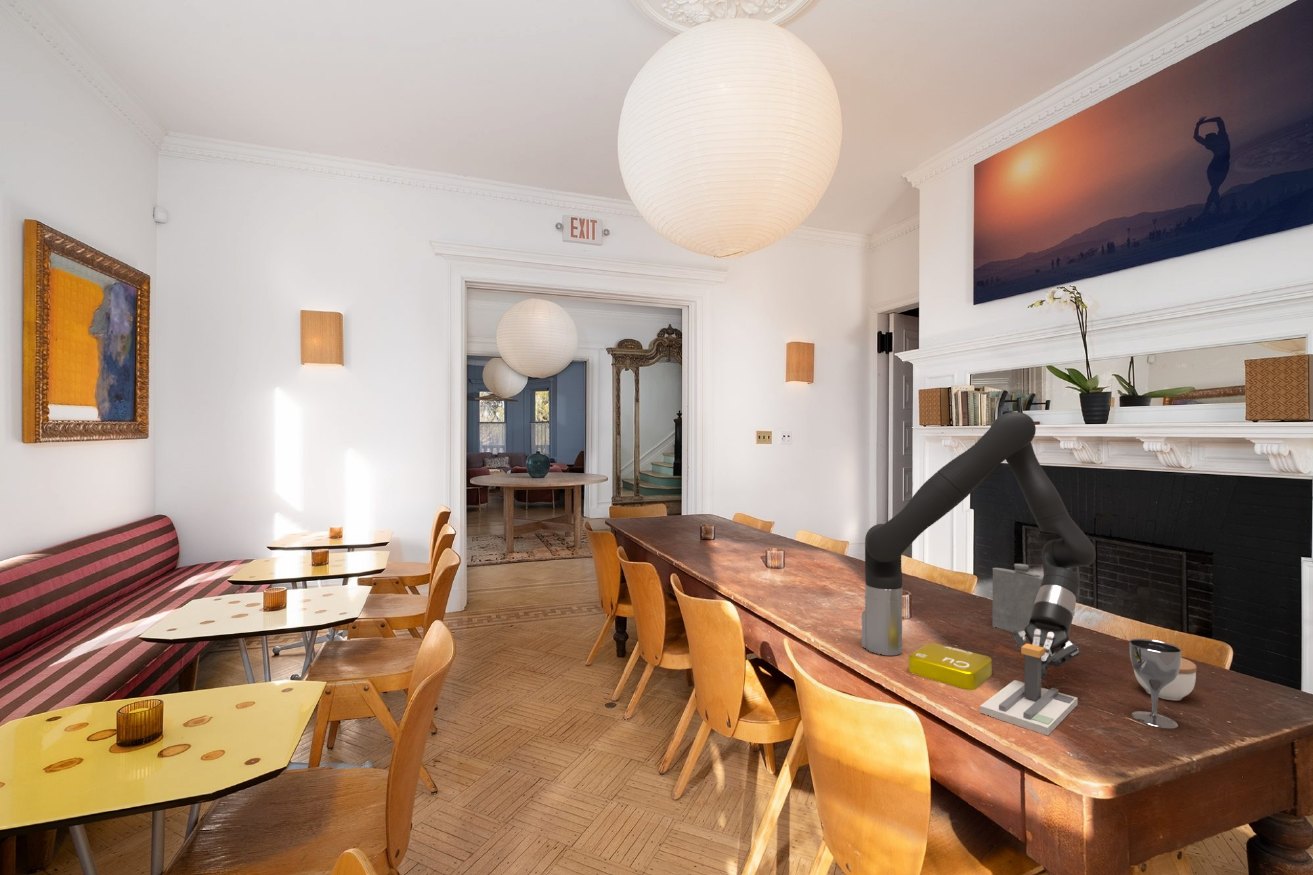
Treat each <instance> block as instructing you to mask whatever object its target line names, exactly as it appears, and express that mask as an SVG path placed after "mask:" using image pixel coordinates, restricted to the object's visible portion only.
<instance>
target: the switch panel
mask: <svg viewBox="0 0 1313 875" xmlns="http://www.w3.org/2000/svg"><path fill="white" fill-rule="evenodd" d="M1024 688H1025V682H1023V681H1020V680H1015V679H1013V680H1012V681H1011V682H1010V683H1008V684H1007V685H1006V686H1005V687H1003V688H1002V689H1001V690H998V692H996V693H995V694H994V695H993V696H991V697H990V698H988V699H987V700H986V701H984V702H983V703H982V704H980V705H979V713H980V714H981V713H984V714H985V715H984V714H983V715H984V716H987V715H989V716H988V717H990V716H991V718H993V717H994V719H996V720H1000V721H1003V722H1005V723H1008V724H1012V725H1013V726H1017V727H1020V728H1023V729H1027V730H1029V731H1032V732H1036V733H1039V734H1041V735H1044V736H1049V735H1050V734H1051V733H1052V732H1053V731H1054V730H1055V729H1056V728H1057V727H1058V726H1059V725H1060V724H1061V723H1062V722H1063V721H1064V720H1065V719H1066V717H1067V716H1069V714H1071V712H1072V711H1073V710H1074V709H1075V708H1076V707H1077V706H1078V700H1079V699H1078V697H1076V696H1073V695H1069V694H1066V693H1063V692H1062V693H1061V692H1059V689H1058V688H1054V687H1050V689H1048V688H1045V687H1041V698H1040V699H1038V700H1037V701H1035V700H1032V699H1029V698H1025V697H1024Z"/></svg>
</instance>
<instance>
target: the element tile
mask: <svg viewBox="0 0 1313 875" xmlns="http://www.w3.org/2000/svg"><path fill="white" fill-rule="evenodd" d="M992 660H993V659H992V658H991V657H990V656H988V655H985V654H981V653H975V652H972V651H968V650H964V649H960V648H957V647H956V648H955V647H953V646H949V645H944V644H939V643H935V642H929V643H926V644H925V645H924V646H922V647H920V648H918V649H917V650H915V651H914V652H912V653H910V654H909V655H908V672H909V671H910V672H909V674H912V673H914V674H916V675H915V676H917V675H920V676H919V677H921V676H922V678H924V677H927V678H926V679H928V678H929V679H928V680H931V679H933V680H932V681H934V682H938V681H940V682H939V683H941V682H942V683H941V684H945V683H946V684H945V685H949V686H952V687H955V688H960V689H963V690H967V691H973V690H977V689H978V688H979V687H980V686H982V684H983V683H985V682H986V681H987V680H989V678H990V677H992V669H993V667H992V665H993V664H992V662H993V661H992ZM914 674H913V675H914Z"/></svg>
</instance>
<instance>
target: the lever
mask: <svg viewBox="0 0 1313 875" xmlns="http://www.w3.org/2000/svg"><path fill="white" fill-rule="evenodd" d="M1020 654H1022V655H1023V654H1025V656H1024V683H1025V688H1024V697H1025V698H1029V699H1032V700H1035V701H1037V700H1038V699H1040V698H1041V688H1042V679H1041V657H1042V656H1043V655H1045V648H1044V647H1040V646H1036V645H1031V643H1025V645H1023V646H1022V647H1021V649H1020Z"/></svg>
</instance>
